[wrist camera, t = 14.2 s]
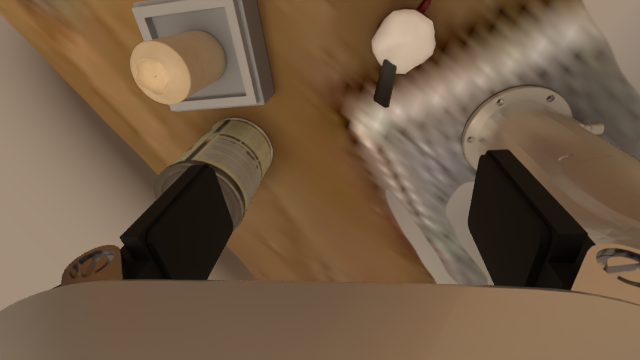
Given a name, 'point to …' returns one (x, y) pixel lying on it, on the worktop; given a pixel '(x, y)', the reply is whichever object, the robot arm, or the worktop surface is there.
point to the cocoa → (401, 46)
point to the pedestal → (234, 36)
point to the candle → (177, 65)
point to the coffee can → (227, 162)
